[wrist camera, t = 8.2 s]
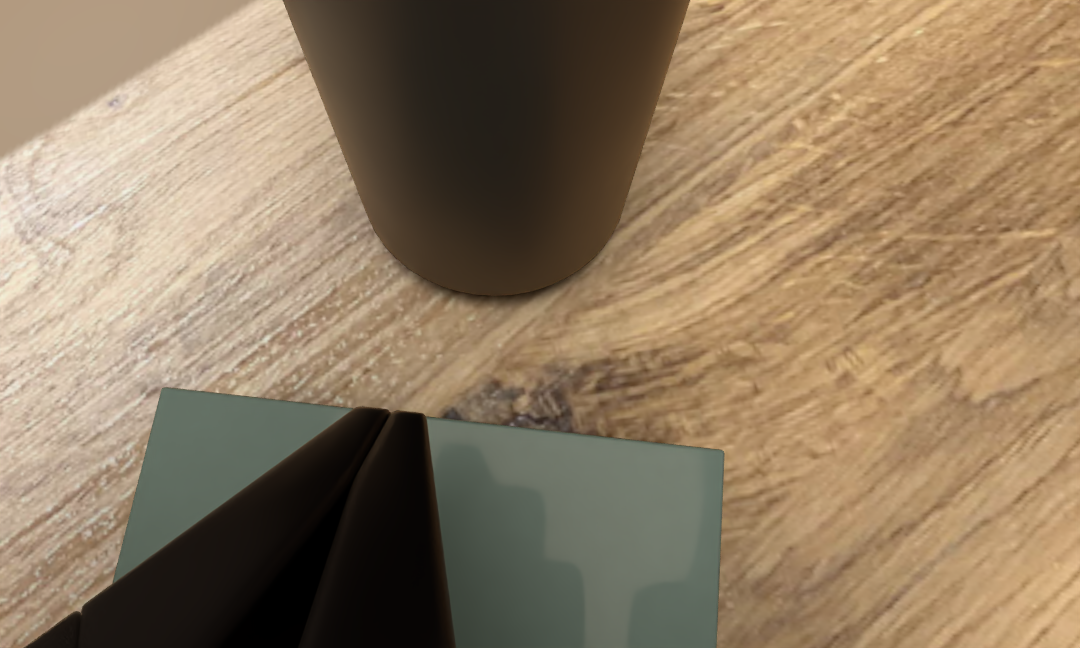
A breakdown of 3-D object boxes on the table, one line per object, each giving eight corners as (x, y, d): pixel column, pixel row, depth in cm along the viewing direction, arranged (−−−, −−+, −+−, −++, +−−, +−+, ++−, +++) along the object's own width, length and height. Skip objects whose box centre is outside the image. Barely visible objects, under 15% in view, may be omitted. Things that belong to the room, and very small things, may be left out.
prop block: (671, 648, 13) (715, 704, 10) (204, 593, 14) (99, 630, 10) (681, 456, 14) (725, 449, 11) (245, 407, 15) (160, 386, 11)
